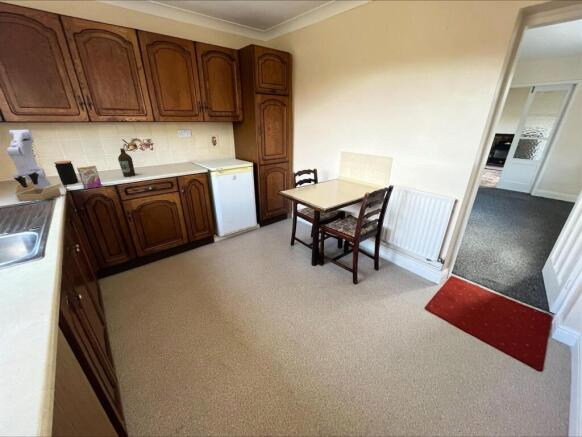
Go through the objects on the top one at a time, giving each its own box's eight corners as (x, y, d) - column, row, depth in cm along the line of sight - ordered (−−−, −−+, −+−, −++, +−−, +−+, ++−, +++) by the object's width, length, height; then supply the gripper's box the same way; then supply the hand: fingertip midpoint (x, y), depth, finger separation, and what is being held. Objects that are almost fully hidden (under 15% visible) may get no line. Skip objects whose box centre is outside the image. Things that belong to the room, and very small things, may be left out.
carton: (38, 194, 174) (35, 188, 172) (61, 194, 175) (58, 188, 173) (18, 201, 161) (15, 194, 160) (43, 200, 162) (41, 194, 160)
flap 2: (62, 182, 171) (62, 182, 171) (58, 187, 172) (58, 188, 172) (45, 187, 159) (46, 187, 159) (41, 193, 160) (41, 193, 160)
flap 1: (34, 188, 172) (34, 187, 172) (36, 180, 170) (35, 180, 170) (16, 193, 160) (15, 193, 160) (17, 185, 158) (16, 185, 158)
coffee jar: (82, 182, 207) (74, 160, 200) (68, 185, 197) (60, 163, 190) (72, 181, 210) (65, 160, 202) (59, 184, 200) (50, 162, 193)
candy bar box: (85, 189, 186) (77, 168, 180) (83, 188, 189) (76, 167, 183) (102, 186, 194) (95, 165, 188) (100, 185, 197) (93, 165, 191)
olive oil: (126, 174, 231) (118, 147, 221) (138, 174, 232) (131, 147, 222) (120, 177, 221) (112, 149, 212) (133, 177, 223) (125, 149, 213)
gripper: (17, 167, 153) (26, 188, 158) (38, 163, 166) (46, 183, 171) (5, 168, 152) (15, 188, 158) (27, 163, 166) (36, 183, 171)
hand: (30, 185), depth 165 cm, fingers open, 7 cm apart
